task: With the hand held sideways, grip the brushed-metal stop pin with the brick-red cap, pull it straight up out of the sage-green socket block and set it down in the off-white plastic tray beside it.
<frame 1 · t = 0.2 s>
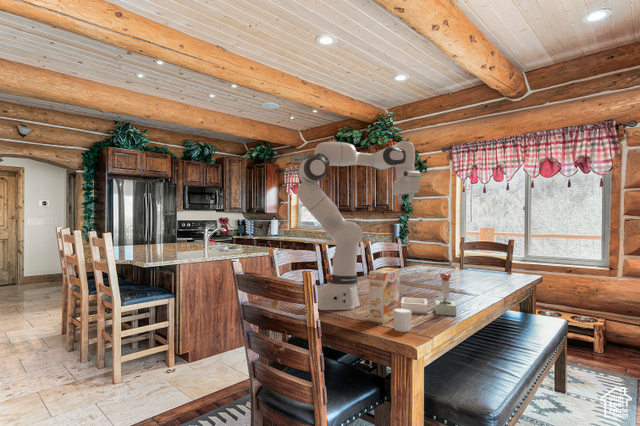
hand: (405, 203, 173), 48 cm above the table, tool pointing down, fingers open, 8 cm apart
stop pin: (445, 293, 153), in the socket block
coffeecake box: (384, 318, 144), on the table
shot glass: (402, 329, 130), on the table
tray: (414, 309, 156), on the table
socket block: (445, 312, 153), on the table
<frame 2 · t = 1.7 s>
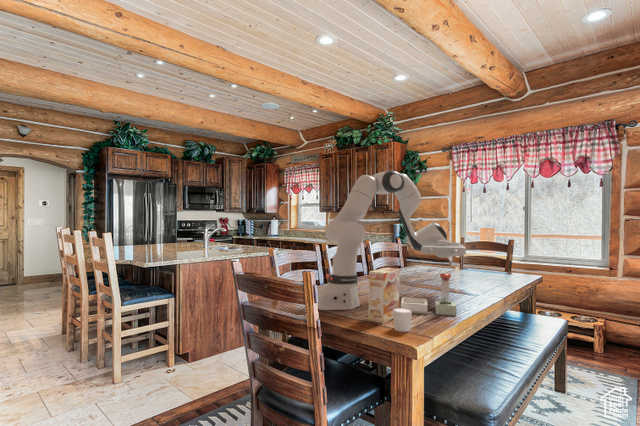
hand: (443, 251, 164), 25 cm above the table, tool horizontal, fingers open, 8 cm apart
nothing on the table moved.
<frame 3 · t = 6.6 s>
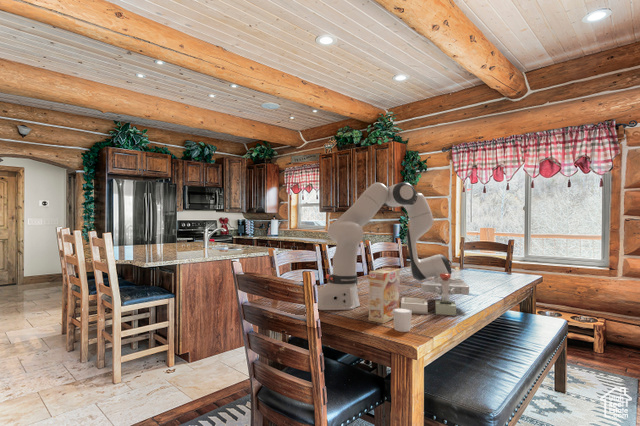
hand: (445, 291, 152), 9 cm above the table, tool horizontal, fingers closed on stop pin, 3 cm apart
stop pin: (445, 293, 153), in the socket block, touching gripper
everything else where it was.
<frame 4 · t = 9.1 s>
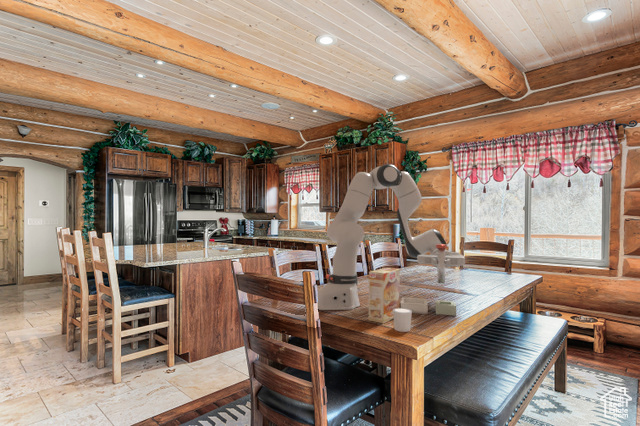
hand: (441, 262, 152), 22 cm above the table, tool horizontal, fingers closed on stop pin, 3 cm apart
stop pin: (441, 263, 153), point 21 cm above the table, touching gripper
everything else where it was.
when the fingers open (12 cm above the table, at t = 12.0 s): stop pin drops 1 cm, resting on tray.
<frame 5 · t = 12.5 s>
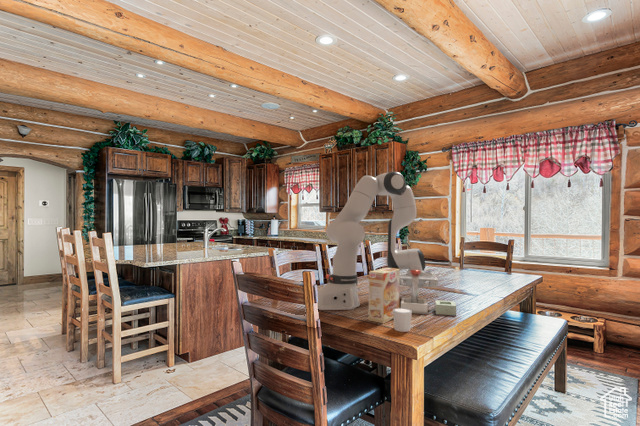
hand: (414, 284, 156), 11 cm above the table, tool horizontal, fingers open, 8 cm apart
stop pin: (414, 288, 156), in the tray, point 9 cm above the table
everything else where it was.
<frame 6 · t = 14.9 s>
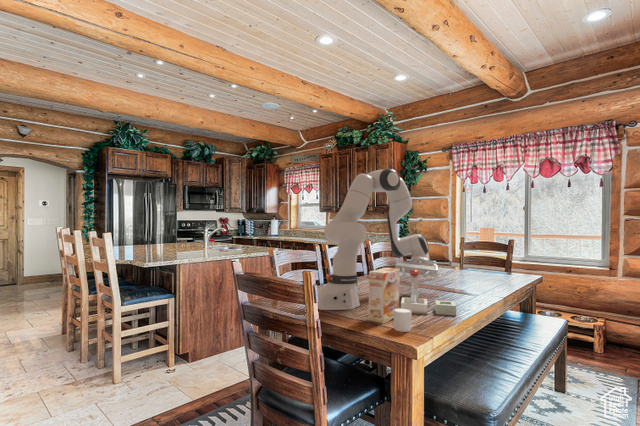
hand: (414, 274, 167), 14 cm above the table, tool horizontal, fingers open, 8 cm apart
nothing on the table moved.
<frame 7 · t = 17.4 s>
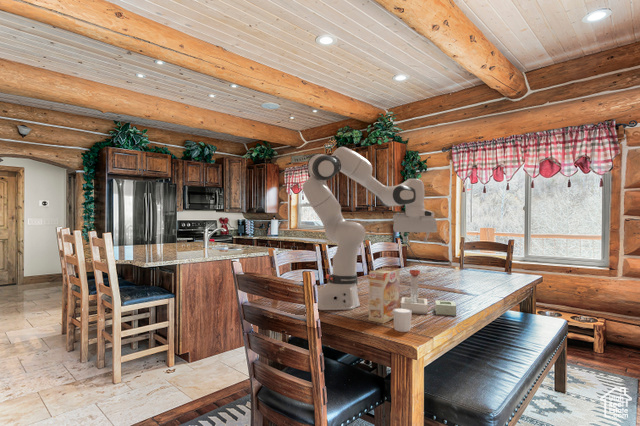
hand: (414, 241, 169), 29 cm above the table, tool pointing down, fingers open, 8 cm apart
nothing on the table moved.
at the end: stop pin inside the target area on the tray (0.1 cm from its centre), point 9.2 cm above the tray's base; the gripper is holding nothing; stop pin moved 13.0 cm from its start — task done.
